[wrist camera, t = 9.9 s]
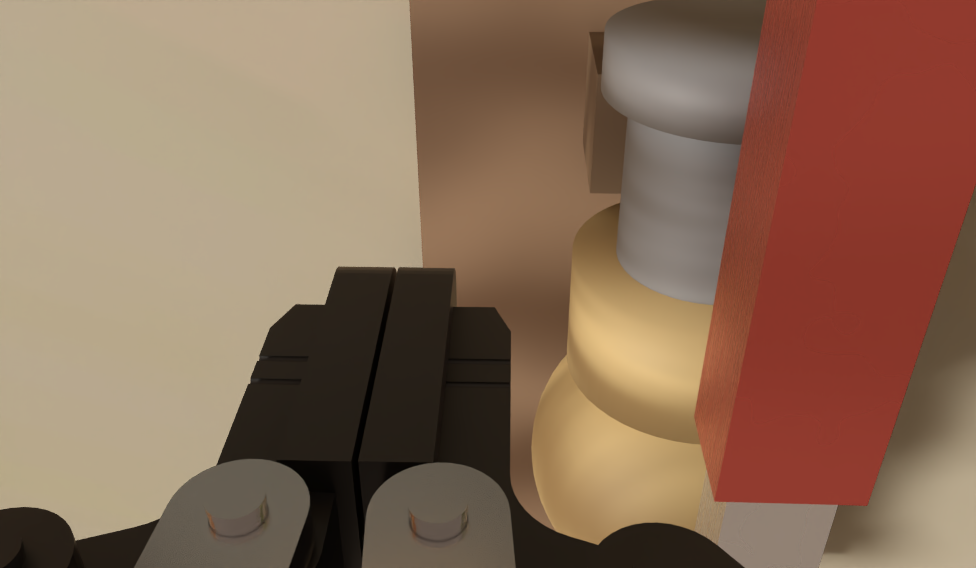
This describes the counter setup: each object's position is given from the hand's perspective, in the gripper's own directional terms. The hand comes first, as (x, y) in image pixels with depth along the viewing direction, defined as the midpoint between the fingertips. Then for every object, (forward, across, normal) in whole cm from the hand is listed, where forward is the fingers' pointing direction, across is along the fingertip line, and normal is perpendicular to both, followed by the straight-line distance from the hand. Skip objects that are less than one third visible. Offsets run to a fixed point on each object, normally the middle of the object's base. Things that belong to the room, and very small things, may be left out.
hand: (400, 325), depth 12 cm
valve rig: (+15, -6, +10) cm, 19 cm away
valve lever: (+3, -6, +4) cm, 7 cm away
